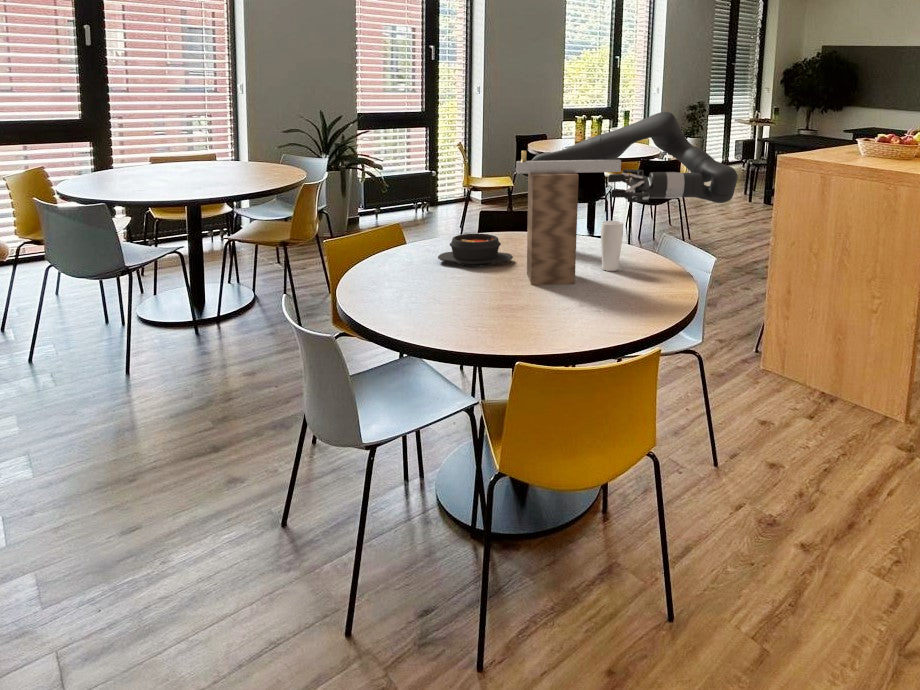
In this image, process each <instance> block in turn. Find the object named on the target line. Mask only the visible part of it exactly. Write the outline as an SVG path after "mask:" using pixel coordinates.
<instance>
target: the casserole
mask: <svg viewBox="0 0 920 690" xmlns="http://www.w3.org/2000/svg"><path fill="white" fill-rule="evenodd" d="M501 245H502V243H501V242H500V240H499V238H498V236H496V235H493V234H488V233H475V232H474V233H465V234H464V233H463V234H458V235H455V236H453V237H452V239H451V242H450V243H449V246H450V248H451V251H446V252H442V253H440V254H439V255H438V256H437V259H438V260H440V261H441V262H442V261H443V262H448V263H450V262H452V263H456V264H460V265H462V264H463V265H462V266H467V265H469V266H468V267H481V266H480V265H483V266H487V265H490V264H493V263H506V262H509V261H511V260H512V259H513V258H514V256H513V255H512V254H511V253H508V252H500V251H499V248H500V246H501Z"/></svg>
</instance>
